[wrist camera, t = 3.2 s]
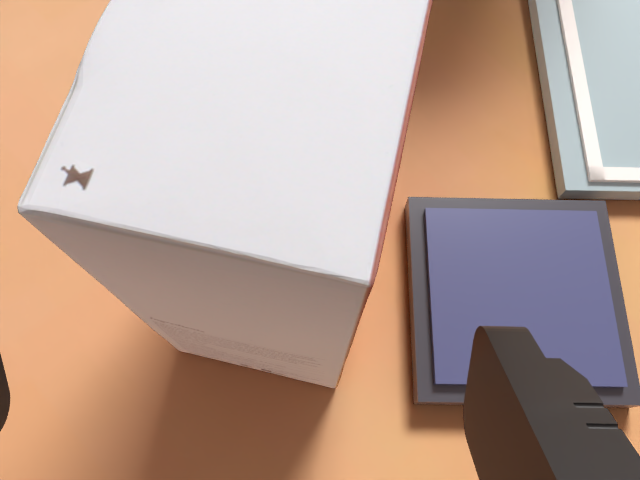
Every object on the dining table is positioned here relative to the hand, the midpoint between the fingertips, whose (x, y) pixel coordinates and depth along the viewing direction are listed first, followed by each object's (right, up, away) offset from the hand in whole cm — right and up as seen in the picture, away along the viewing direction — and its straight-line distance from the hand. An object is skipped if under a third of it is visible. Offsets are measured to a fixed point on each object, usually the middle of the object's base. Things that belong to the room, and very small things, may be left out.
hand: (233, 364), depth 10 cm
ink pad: (+9, 0, +13) cm, 16 cm away
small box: (0, +1, +13) cm, 13 cm away
